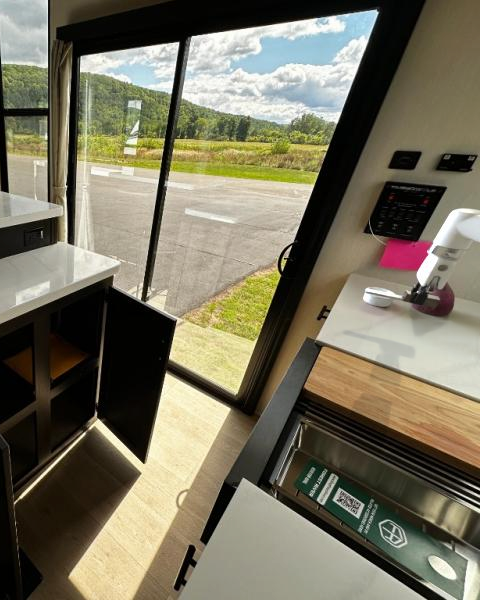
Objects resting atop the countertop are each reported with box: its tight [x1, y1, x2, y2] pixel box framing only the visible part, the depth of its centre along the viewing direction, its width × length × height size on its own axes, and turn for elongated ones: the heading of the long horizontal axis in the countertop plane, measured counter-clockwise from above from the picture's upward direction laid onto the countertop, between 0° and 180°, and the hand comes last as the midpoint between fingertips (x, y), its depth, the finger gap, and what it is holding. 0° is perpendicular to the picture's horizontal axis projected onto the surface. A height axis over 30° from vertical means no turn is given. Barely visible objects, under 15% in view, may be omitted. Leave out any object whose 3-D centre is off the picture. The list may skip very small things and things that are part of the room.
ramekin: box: [363, 286, 395, 308], centre depth 122 cm, size 9×9×4 cm
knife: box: [364, 288, 440, 308], centre depth 108 cm, size 18×3×3 cm, turn 56°
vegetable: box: [411, 281, 456, 317], centre depth 114 cm, size 10×10×15 cm
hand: (414, 300), depth 106 cm, fingers closed on knife, 2 cm apart
